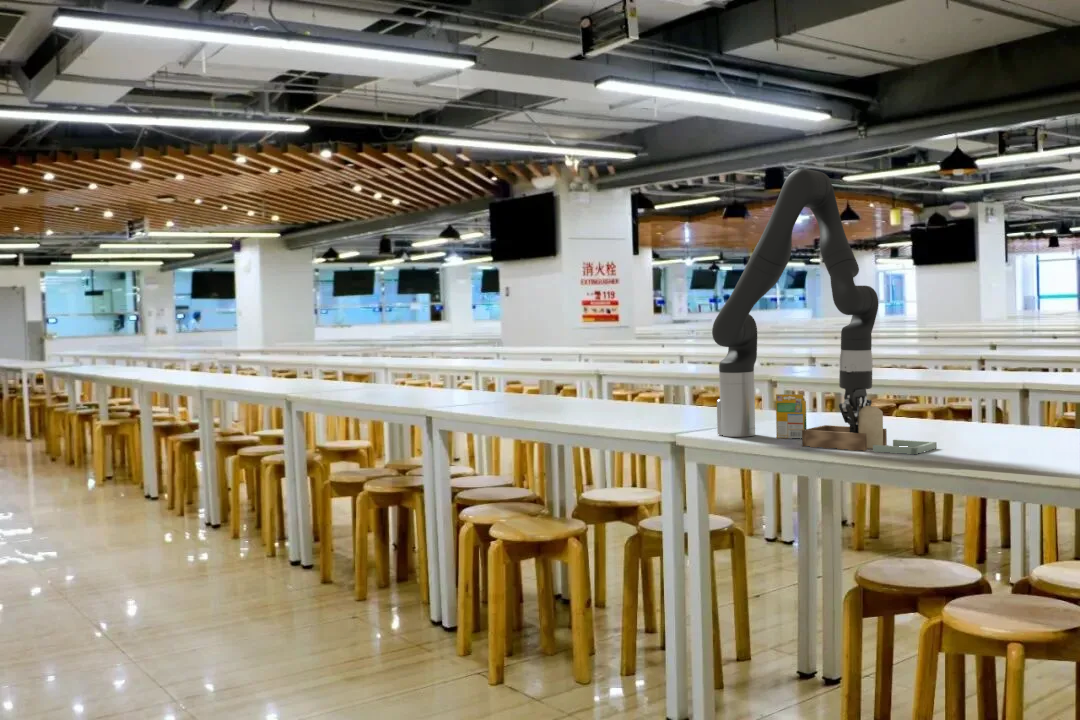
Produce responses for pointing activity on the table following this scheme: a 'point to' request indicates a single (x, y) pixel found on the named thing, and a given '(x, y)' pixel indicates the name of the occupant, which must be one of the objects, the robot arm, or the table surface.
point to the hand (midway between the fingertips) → (855, 440)
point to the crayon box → (790, 416)
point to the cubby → (836, 438)
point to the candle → (871, 425)
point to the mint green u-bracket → (912, 448)
